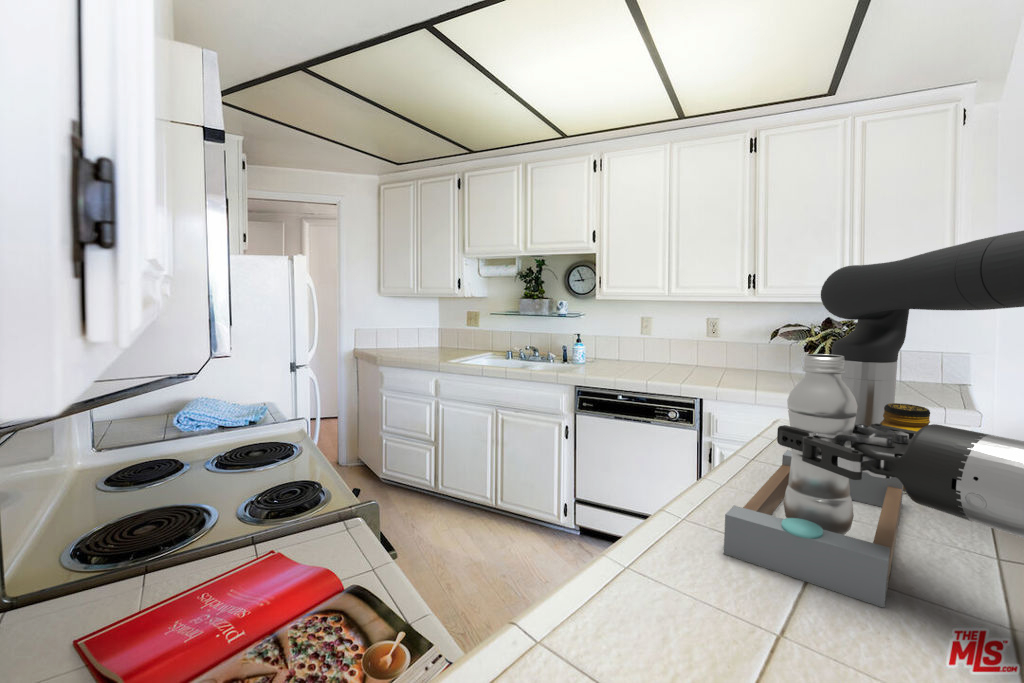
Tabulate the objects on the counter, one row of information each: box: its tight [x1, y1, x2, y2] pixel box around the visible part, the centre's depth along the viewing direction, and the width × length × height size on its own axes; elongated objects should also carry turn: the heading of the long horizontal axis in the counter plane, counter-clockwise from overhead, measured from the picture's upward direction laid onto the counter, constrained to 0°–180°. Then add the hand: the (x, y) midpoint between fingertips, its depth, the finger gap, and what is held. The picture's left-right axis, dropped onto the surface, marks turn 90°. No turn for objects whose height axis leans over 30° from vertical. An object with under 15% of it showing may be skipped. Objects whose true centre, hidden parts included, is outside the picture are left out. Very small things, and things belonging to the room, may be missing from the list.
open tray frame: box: [742, 464, 903, 589], centre depth 59 cm, size 14×23×3 cm, turn 138°
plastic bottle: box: [783, 353, 858, 536], centre depth 53 cm, size 6×7×20 cm
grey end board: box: [723, 505, 890, 609], centre depth 49 cm, size 14×4×5 cm, turn 48°
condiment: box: [880, 402, 931, 494], centre depth 71 cm, size 7×8×12 cm
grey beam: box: [781, 449, 904, 508], centre depth 68 cm, size 14×4×5 cm, turn 48°
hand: (799, 430), depth 55 cm, fingers closed on plastic bottle, 6 cm apart
